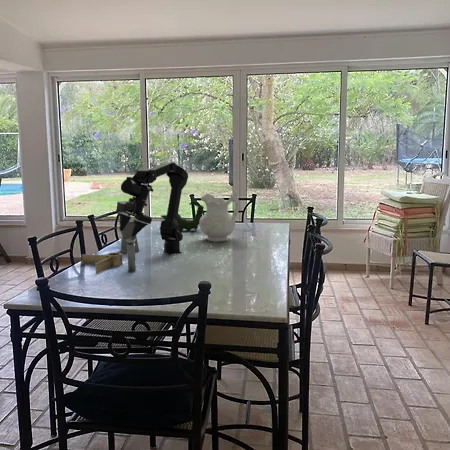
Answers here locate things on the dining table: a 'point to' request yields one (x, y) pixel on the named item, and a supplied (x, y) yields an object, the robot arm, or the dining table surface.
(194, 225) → the toy figurine
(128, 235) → the coffeepot
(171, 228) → the robot arm
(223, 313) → the dining table surface
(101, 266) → the hinge
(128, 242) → the hinge pin
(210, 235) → the ceramic pitcher
